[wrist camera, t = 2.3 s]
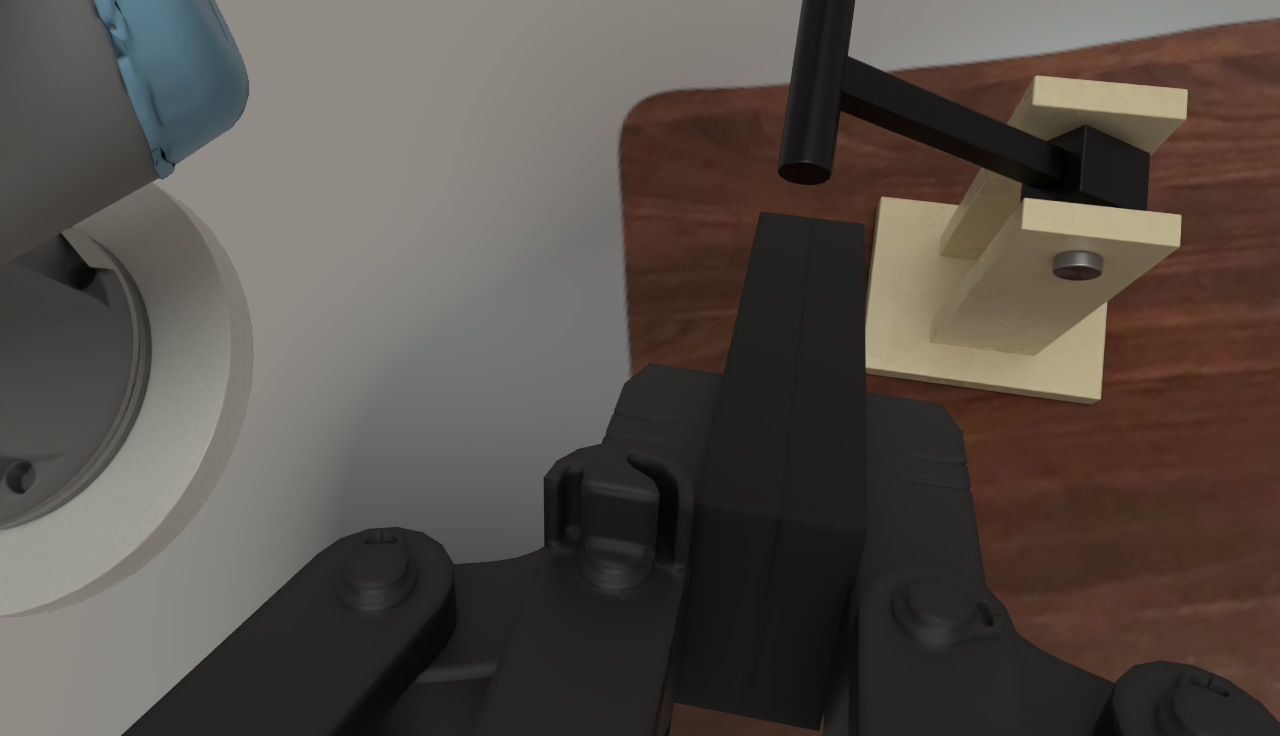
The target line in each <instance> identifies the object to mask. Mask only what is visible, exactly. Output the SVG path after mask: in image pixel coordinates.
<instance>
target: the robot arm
mask: <svg viewBox="0 0 1280 736" xmlns="http://www.w3.org/2000/svg"><path fill="white" fill-rule="evenodd" d="M248 96H249V80H248V75H247V72H246V68H245V65H244V62H243V59H242V57H241V54H240V52H239V50H238V47H237V45H236V43H235V40H234V38H233V36H232V34H231V32H230V30H229V28H228V26H227V24H226V22H225V20H224V18H223V16H222V14H221V12H220V10H219V8H218V6H217V4H216V2H215V0H0V530H5V529H10V528H14V527H17V526H21V525H24V524H27V523H29V522H32V521H34V520H37V519H39V518H42V517H44V516H45V515H47V514H49V513H51V512H53V511H55V510H57V509H58V508H60V507H61V506H63V505H65V504H66V503H68V502H69V501H71V500H72V499H73V498H75V497H76V496H77V495H78V494H80V493H81V492H82V491H84V490H85V489H86V488H87V487H88V486H89V485H90V484H91V483H92V482H93V481H94V480H95V479H96V478H97V477H98V476H99V475H100V474H101V473H102V472H103V471H104V470H105V469H106V467H107V466H108V465H109V464H110V462H111V461H112V460H113V458H114V457H115V456H116V455H117V453H118V452H119V450H120V449H121V447H122V445H123V444H124V442H125V441H126V439H127V437H128V435H129V433H130V432H131V430H132V428H133V426H134V424H135V422H136V419H137V417H138V414H139V412H140V410H141V407H142V404H143V401H144V398H145V395H146V390H147V386H148V382H149V376H150V369H151V358H152V340H151V329H150V323H149V317H148V314H147V310H146V306H145V303H144V300H143V298H142V295H141V293H140V290H139V288H138V287H137V285H136V283H135V281H134V279H133V277H132V276H131V274H130V273H129V271H128V270H127V268H126V267H125V266H124V265H123V264H122V263H121V261H120V260H119V259H118V258H117V257H116V256H115V255H114V254H113V253H112V252H111V251H110V250H109V249H107V248H106V247H105V246H103V245H102V244H101V243H99V242H98V241H96V240H94V239H93V238H91V237H89V236H87V235H86V234H85V233H84V232H83V230H81V229H74V228H72V226H74V225H75V224H77V223H79V222H81V221H83V220H84V219H86V218H88V217H90V216H92V215H93V214H95V213H97V212H99V211H101V210H102V209H104V208H106V207H108V206H110V205H111V204H113V203H115V202H117V201H119V200H120V199H122V198H124V197H126V196H128V195H129V194H131V193H133V192H135V191H137V190H138V189H140V188H142V187H144V186H146V185H147V184H149V183H151V182H153V181H155V180H156V179H158V178H161V179H164V178H166V177H168V176H169V175H170V174H172V173H173V171H174V169H175V165H176V164H177V163H179V162H180V161H182V160H183V159H185V158H186V157H188V156H189V155H191V154H192V153H194V152H195V151H197V150H199V149H200V148H201V147H203V146H204V145H206V144H207V143H209V142H211V141H212V140H214V139H215V138H217V137H218V136H220V135H221V134H223V133H224V132H226V131H228V130H229V129H230V128H232V127H233V126H234V124H235V123H236V122H237V121H238V120H239V118H240V117H241V115H242V114H243V112H244V109H245V106H246V102H247V99H248ZM966 462H967V460H966V454H965V447H964V441H963V434H962V431H961V429H960V428H959V427H958V426H957V424H956V423H955V422H954V420H953V419H952V418H951V417H950V415H949V414H948V413H947V411H946V410H945V409H944V408H943V406H942V405H941V404H940V403H935V402H928V401H922V400H915V399H908V398H901V397H894V396H888V395H881V394H874V393H867V392H866V345H865V247H864V224H858V223H850V222H842V221H834V220H826V219H817V218H809V217H801V216H793V215H785V214H777V213H768V212H760V215H759V220H758V224H757V229H756V233H755V238H754V242H753V246H752V251H751V255H750V260H749V264H748V269H747V273H746V277H745V282H744V286H743V291H742V295H741V300H740V304H739V309H738V313H737V317H736V322H735V326H734V331H733V335H732V340H731V344H730V348H729V353H728V357H727V362H726V366H725V371H724V374H718V373H712V372H705V371H698V370H691V369H684V368H678V367H671V366H664V365H657V364H650V363H649V364H648V365H647V366H646V367H644V368H643V369H642V370H641V371H639V372H638V373H637V374H636V375H634V376H633V377H632V378H631V379H630V380H628V381H627V382H626V383H625V384H624V386H623V389H622V392H621V394H620V397H619V399H618V402H617V405H616V407H615V411H614V415H612V418H611V420H610V423H609V425H608V428H607V431H606V436H605V437H604V438H603V441H602V443H601V444H599V445H594V446H590V447H585V448H581V449H578V450H576V451H574V452H572V453H570V454H568V455H567V456H565V457H563V458H561V459H559V460H558V461H556V463H555V464H554V465H553V467H552V468H551V469H550V470H549V472H548V473H547V474H546V476H545V477H544V542H545V546H544V547H542V548H541V549H539V550H537V551H535V552H532V553H529V554H527V555H523V556H521V557H518V558H512V559H506V560H500V561H492V562H479V563H466V564H453V562H452V560H451V558H450V557H449V555H448V554H447V552H446V550H445V549H444V547H443V545H442V544H440V543H439V542H437V541H435V540H434V539H432V538H431V537H429V536H428V535H426V534H424V533H423V532H418V531H413V530H409V529H404V528H399V527H389V528H375V529H367V530H364V531H361V532H358V533H355V534H352V535H349V536H346V537H343V538H341V539H339V540H338V541H336V542H335V543H333V544H332V545H330V546H329V547H327V548H326V549H324V550H323V551H321V552H320V553H318V554H317V555H316V556H315V557H314V558H313V559H312V560H311V561H310V562H308V563H307V564H306V565H305V566H304V567H303V568H302V569H301V570H300V571H299V572H298V573H297V574H295V575H294V576H293V577H292V578H291V579H290V580H289V581H288V582H287V583H286V584H285V585H283V586H282V588H280V589H279V590H278V591H277V592H276V593H275V594H274V595H273V596H272V597H271V598H269V599H268V600H267V601H266V602H265V603H264V604H263V605H262V606H261V607H260V608H259V609H258V610H256V612H254V613H253V614H252V615H251V616H250V617H249V618H248V619H247V620H246V621H245V622H243V623H242V625H240V626H239V627H238V628H237V629H236V630H235V631H234V632H233V633H232V634H231V635H229V636H228V637H227V638H226V639H225V640H224V641H223V642H222V643H221V644H220V645H219V646H217V647H216V648H215V649H214V650H213V651H212V652H211V653H210V654H209V655H208V656H207V657H206V658H204V659H203V660H202V661H201V662H200V663H199V664H198V665H197V666H196V667H195V668H194V669H193V670H192V671H190V672H189V673H188V674H187V675H186V676H185V677H184V678H183V679H182V680H181V681H180V682H179V683H178V684H176V685H175V686H174V687H173V688H172V689H171V690H170V691H169V692H168V693H167V694H166V695H165V696H163V697H162V698H161V699H160V700H159V701H158V702H157V703H156V704H155V705H154V706H153V707H151V708H150V709H149V710H148V711H147V712H146V713H145V714H144V715H143V716H142V717H141V718H140V719H139V720H137V721H136V722H135V723H134V724H133V725H132V726H131V727H130V728H129V729H128V730H127V731H126V732H124V733H123V734H122V735H121V736H669V734H670V724H671V717H672V712H673V707H674V702H675V703H680V704H685V705H690V706H696V707H701V708H706V709H711V710H716V711H721V712H726V713H731V714H736V715H741V716H746V717H751V718H756V719H761V720H766V721H771V722H777V723H782V724H787V725H792V726H797V727H802V728H807V729H812V730H817V731H819V729H820V725H821V721H822V717H823V712H824V728H823V736H1280V723H1279V722H1278V721H1277V719H1276V718H1275V717H1274V716H1273V715H1272V714H1271V713H1270V712H1269V711H1268V710H1267V709H1266V708H1265V707H1264V706H1263V704H1262V703H1261V702H1260V701H1258V700H1257V699H1255V698H1254V697H1252V696H1251V695H1249V694H1248V693H1247V692H1245V691H1244V690H1242V689H1241V688H1239V687H1238V686H1236V685H1235V684H1233V683H1232V682H1230V681H1229V680H1227V679H1225V678H1223V677H1220V676H1218V675H1215V674H1213V673H1210V672H1208V671H1205V670H1203V669H1201V668H1198V667H1196V666H1193V665H1187V664H1181V663H1174V662H1167V661H1155V662H1150V663H1145V664H1139V665H1134V666H1133V667H1132V668H1131V669H1129V670H1128V671H1127V672H1126V673H1125V674H1123V675H1122V676H1121V677H1120V678H1119V679H1118V680H1117V681H1116V683H1113V682H1111V681H1109V680H1106V679H1104V678H1102V677H1099V676H1097V675H1095V674H1092V673H1090V672H1088V671H1085V670H1083V669H1081V668H1078V667H1076V666H1074V665H1071V664H1069V663H1067V662H1064V661H1062V660H1060V659H1058V658H1056V657H1054V656H1052V655H1050V654H1049V653H1047V652H1045V651H1043V650H1041V649H1039V648H1037V647H1036V646H1035V645H1033V644H1032V643H1031V642H1029V641H1028V640H1026V639H1025V638H1024V637H1022V636H1021V635H1020V634H1018V633H1017V632H1016V631H1015V628H1014V626H1013V623H1012V621H1011V619H1010V616H1009V614H1008V612H1007V609H1006V607H1005V606H1004V605H1003V604H1002V603H1001V602H1000V601H999V599H998V598H997V597H996V596H995V595H994V594H993V593H992V592H991V591H990V590H989V589H988V588H987V586H986V583H985V576H984V570H983V563H982V557H981V550H980V544H979V538H978V531H977V525H976V518H975V512H974V505H973V499H972V492H970V479H969V473H968V467H966Z"/></svg>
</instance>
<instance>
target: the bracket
mask: <svg viewBox="0 0 1280 736" xmlns="http://www.w3.org/2000/svg"><path fill="white" fill-rule="evenodd" d="M1187 95H1188V91H1187V90H1186V89H1177V88H1166V87H1155V86H1144V85H1133V84H1122V83H1112V82H1101V81H1090V80H1079V79H1068V78H1057V77H1046V76H1035V77H1034V79H1033V80H1032V82H1031V84H1030V85H1029V87H1028V89H1027V91H1026V92H1025V94H1024V96H1023V97H1022V99H1021V101H1020V102H1019V104H1018V106H1017V108H1016V109H1015V111H1014V113H1013V114H1012V116H1011V118H1010V120H1009V121H1008V123H1007V124H1008V125H1010V126H1012V127H1015V128H1017V129H1019V130H1022V131H1024V132H1026V133H1029V134H1031V135H1033V136H1036V137H1038V138H1040V139H1043V140H1045V141H1048V140H1050V139H1052V138H1055V137H1057V136H1059V135H1062V134H1064V133H1066V132H1069V131H1071V130H1073V129H1076V128H1078V127H1080V126H1083V125H1088V126H1091V127H1093V128H1095V129H1097V130H1100V131H1102V132H1104V133H1106V134H1109V135H1111V136H1113V137H1115V138H1118V139H1120V140H1122V141H1124V142H1126V143H1129V144H1131V145H1133V146H1135V147H1138V148H1140V149H1142V150H1144V151H1147V152H1149V153H1150V156H1151V155H1152V154H1153V153H1154V152H1155V151H1156V150H1157V149H1158V148H1159V146H1160V145H1161V144H1162V143H1163V142H1164V141H1165V140H1166V139H1167V138H1168V137H1169V136H1170V135H1171V134H1172V133H1173V132H1174V131H1175V130H1176V129H1177V128H1178V127H1179V126H1180V125H1181V124H1182V123H1183V122H1184V121H1185V120H1186V114H1187ZM1021 186H1022V183H1019V182H1017V181H1014V180H1012V179H1009V178H1007V177H1004V176H1002V175H999V174H997V173H994V172H992V171H989V170H987V169H984V168H982V167H981V169H980V171H979V172H978V174H977V176H976V177H975V179H974V181H973V183H972V184H971V186H970V188H969V189H968V191H967V193H966V194H965V196H964V198H963V200H962V201H961V203H960V205H951V204H943V203H934V202H925V201H916V200H907V199H898V198H889V197H881V199H880V201H879V204H878V207H877V214H876V223H875V231H874V239H873V247H872V255H871V263H870V272H869V280H868V288H867V296H866V304H865V345H866V374H873V375H880V376H887V377H895V378H902V379H909V380H916V381H924V382H931V383H938V384H946V385H953V386H960V387H967V388H975V389H982V390H989V391H996V392H1004V393H1011V394H1018V395H1025V396H1033V397H1040V398H1047V399H1054V400H1062V401H1069V402H1076V403H1084V404H1092V403H1094V402H1096V401H1098V400H1100V399H1101V388H1102V373H1103V358H1104V344H1105V329H1106V314H1107V301H1108V300H1110V299H1111V298H1112V297H1114V296H1115V295H1116V294H1118V293H1119V292H1120V291H1122V290H1123V289H1124V288H1126V287H1127V286H1128V285H1130V284H1131V283H1132V282H1134V281H1135V280H1136V279H1137V278H1139V277H1140V276H1141V275H1143V274H1144V273H1145V272H1147V271H1148V270H1149V269H1151V268H1152V267H1153V266H1155V265H1156V264H1157V263H1159V262H1160V261H1161V260H1163V259H1164V258H1165V257H1167V256H1168V255H1169V254H1171V253H1172V252H1173V251H1175V250H1176V249H1177V248H1179V247H1180V234H1181V215H1177V214H1168V213H1159V212H1149V211H1140V210H1131V209H1122V208H1113V207H1104V206H1095V205H1086V204H1077V203H1067V202H1058V201H1049V200H1040V199H1031V198H1024V199H1023V200H1022V202H1021V203H1020V197H1021Z"/></svg>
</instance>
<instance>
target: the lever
mask: <svg viewBox="0 0 1280 736" xmlns="http://www.w3.org/2000/svg"><path fill="white" fill-rule="evenodd" d="M854 5H855V0H802V7H801V14H800V21H799V28H798V34H797V41H796V48H795V55H794V62H793V68H792V75H791V82H790V89H789V96H788V103H787V109H786V116H785V123H784V130H783V137H782V144H781V151H780V157H779V164H778V173H779V175H780V176H781V177H782V178H783V179H785V180H787V181H789V182H792V183H796V184H802V185H817V184H822V183H825V182H827V181H828V180H829V179H830V178H831V176H832V170H833V162H834V155H835V147H836V140H837V132H838V125H839V117H840V111H842V112H845V113H847V114H850V115H852V116H855V117H857V118H860V119H862V120H865V121H867V122H870V123H872V124H875V125H877V126H880V127H882V128H885V129H887V130H890V131H892V132H895V133H897V134H900V135H902V136H905V137H907V138H910V139H912V140H915V141H917V142H920V143H922V144H925V145H927V146H930V147H932V148H935V149H937V150H940V151H942V152H945V153H947V154H950V155H952V156H955V157H957V158H960V159H962V160H965V161H967V162H970V163H972V164H975V165H977V166H980V167H982V168H984V169H987V170H989V171H992V172H994V173H997V174H999V175H1002V176H1004V177H1007V178H1009V179H1012V180H1014V181H1017V182H1019V183H1022V186H1021V197H1020V203H1021V202H1022V200H1023V199H1024V198H1031V199H1040V200H1049V201H1058V202H1067V203H1077V204H1086V205H1095V206H1104V207H1113V208H1122V209H1131V210H1140V211H1147V197H1148V181H1149V164H1150V153H1149V152H1147V151H1144V150H1142V149H1140V148H1138V147H1135V146H1133V145H1131V144H1129V143H1126V142H1124V141H1122V140H1120V139H1118V138H1115V137H1113V136H1111V135H1109V134H1106V133H1104V132H1102V131H1100V130H1097V129H1095V128H1093V127H1091V126H1088V125H1083V126H1080V127H1078V128H1076V129H1073V130H1071V131H1069V132H1066V133H1064V134H1062V135H1059V136H1057V137H1055V138H1052V139H1050V140H1048V141H1045V140H1043V139H1040V138H1038V137H1036V136H1033V135H1031V134H1029V133H1026V132H1024V131H1022V130H1019V129H1017V128H1015V127H1012V126H1010V125H1008V124H1005V123H1003V122H1001V121H998V120H996V119H994V118H991V117H989V116H987V115H984V114H982V113H980V112H977V111H975V110H973V109H970V108H968V107H966V106H963V105H961V104H959V103H956V102H954V101H952V100H949V99H947V98H945V97H942V96H940V95H938V94H935V93H933V92H931V91H928V90H926V89H924V88H921V87H919V86H917V85H914V84H912V83H910V82H907V81H905V80H903V79H900V78H898V77H896V76H893V75H891V74H889V73H886V72H884V71H882V70H879V69H877V68H875V67H872V66H870V65H868V64H865V63H863V62H861V61H859V60H856V59H854V58H851V57H849V56H848V50H849V43H850V35H851V28H852V20H853V13H854Z"/></svg>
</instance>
